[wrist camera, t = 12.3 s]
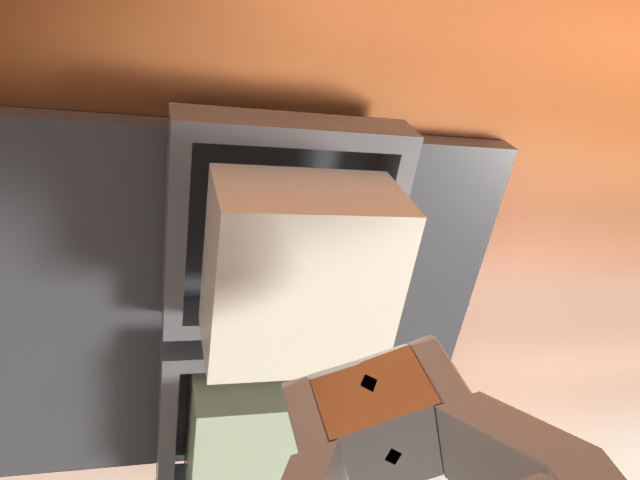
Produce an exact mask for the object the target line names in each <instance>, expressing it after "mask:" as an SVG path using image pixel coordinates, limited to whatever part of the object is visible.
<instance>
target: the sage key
mask: <svg viewBox="0 0 640 480" xmlns="http://www.w3.org/2000/svg"><path fill="white" fill-rule="evenodd" d="M288 381H291V380H288ZM288 381H270V382H252V383H233V384H215V385H207V381H206V373H195V374H189V388H188V403H187V419H186V435H185V450H184V468H185V480H281V478H282V476H283V473H284V471H285V468H286V466H287V463H288V461H289V458H290V456H291V455H293V454H296V453H298V450H297V446H296V442H295V438H294V434H293V431H292V427H291V423H290V419H289V415H288V411H287V408H286V404H285V400H284V396H283V392H282V384H281V383H284V382H288ZM309 382H310V381H309Z"/></svg>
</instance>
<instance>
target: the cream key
mask: <svg viewBox="0 0 640 480" xmlns="http://www.w3.org/2000/svg"><path fill="white" fill-rule="evenodd" d="M426 219H427V217H426V216H425V215H424V214H423V213H422V212H421V210H420V209H419V208H418V207H417V206H416V205H415V203H414V202H413V201H412V200H411V199H410V198H409V196H408V195H407V194H406V193H405V192H404V191H403V189H402V188H401V187H400V186H399V185H398V184H397V182H396V181H395V180H394V179H393V178H392V177H391V175H390V174H389V173H388V172H387V171H369V170H348V169H328V168H307V167H287V166H266V165H245V164H225V163H209V176H208V191H207V205H206V219H205V234H204V248H203V262H202V277H201V291H200V306H199V326H200V334H201V342H202V350H203V357H204V365H205V373H206V381H207V385H215V384H233V383H252V382H270V381H288V380H295V379H298V378H301V377H305V376H307V377H308V375H309V374H312V373H316V372H319V371H322V370H326V369H329V368H332V367H336V366H339V365H342V364H346V363H349V362H352V361H356V360H358V359H361V358H364V357H367V356H369V355H372V354H375V353H378V352H381V351H384V350H387V349H390V348H393V345H394V342H395V338H396V334H397V330H398V326H399V322H400V319H401V315H402V311H403V307H404V303H405V299H406V296H407V292H408V288H409V284H410V280H411V276H412V273H413V269H414V265H415V261H416V257H417V253H418V249H419V246H420V242H421V238H422V234H423V230H424V226H425V223H426ZM308 379H309V378H308Z"/></svg>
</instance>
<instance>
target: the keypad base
mask: <svg viewBox="0 0 640 480" xmlns="http://www.w3.org/2000/svg"><path fill="white" fill-rule="evenodd" d="M517 151H518V150H517V149H516V148H515V147H513V146H512V145H510V144H509V143H507V142H506V141H505V140H490V139H476V138H461V137H447V136H432V135H421V134H420V133H418V132H417V131H416V130H415V129H414V128H413V127H412V126H411V125H409V124H408V123H407V122H406V121H405V120H399V119H386V118H373V117H360V116H346V115H333V114H320V113H307V112H294V111H280V110H267V109H254V108H241V107H228V106H214V105H201V104H188V103H175V102H169V115H168V117H155V116H140V115H126V114H111V113H97V112H82V111H68V110H53V109H38V108H24V107H9V106H0V477H7V476H18V475H29V474H40V473H51V472H62V471H73V470H85V469H96V468H107V467H118V466H129V465H140V464H151V463H156V480H185V468H184V464H175V461H184V450H185V435H186V419H187V403H188V388H189V374H195V373H205V365H204V357H203V350H202V342H201V334H200V326H199V306H200V291H201V277H202V262H203V248H204V234H205V219H206V205H207V191H208V176H209V163H225V164H245V165H266V166H287V167H307V168H328V169H348V170H369V171H387V172H388V173H389V174H390V175H391V177H392V178H393V179H394V180H395V181H396V182H397V184H398V185H399V186H400V187H401V188H402V189H403V191H404V192H405V193H406V194H407V195H408V196H409V198H410V199H411V200H412V201H413V202H414V203H415V205H416V206H417V207H418V208H419V209H420V210H421V212H422V213H423V214H424V215H425V216H426V217H427V219H426V223H425V226H424V230H423V234H422V238H421V242H420V246H419V249H418V253H417V257H416V261H415V265H414V269H413V273H412V276H411V280H410V284H409V288H408V292H407V296H406V299H405V303H404V307H403V311H402V315H401V319H400V322H399V326H398V330H397V334H396V338H395V342H394V345H393V347H396V346H399V345H402V344H405V343H406V344H407V343H408V342H411V341H414V340H416V339H419V338H422V337H425V336H428V335H431V334H432V335H433V336H435V337H436V338H437V340H438V341H439V343H440V344H441V346H442V347H443V349H444V351H445V352H446V354H447V355H448V357H449V358H450V360H451V357H452V354H453V351H454V348H455V345H456V341H457V338H458V335H459V332H460V329H461V326H462V323H463V320H464V316H465V313H466V310H467V307H468V304H469V301H470V298H471V295H472V291H473V288H474V285H475V282H476V279H477V276H478V273H479V270H480V267H481V263H482V260H483V257H484V254H485V251H486V248H487V245H488V242H489V238H490V235H491V232H492V229H493V226H494V223H495V220H496V217H497V213H498V210H499V207H500V204H501V201H502V198H503V195H504V192H505V188H506V185H507V182H508V179H509V176H510V173H511V170H512V167H513V164H514V160H515V157H516V154H517Z"/></svg>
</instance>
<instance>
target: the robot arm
mask: <svg viewBox="0 0 640 480" xmlns="http://www.w3.org/2000/svg"><path fill="white" fill-rule="evenodd" d="M308 378H309V379H308ZM309 381H310V382H309ZM281 384H282V392H283V396H284V400H285V404H286V408H287V411H288V415H289V419H290V423H291V427H292V431H293V434H294V438H295V442H296V446H297V450H298V453H296V454H293V455H291V456H290V458H289V461H288V463H287V466H286V468H285V471H284V473H283V476H282V478H281V480H428V479H431V478H434V477H437V476H440V475H443V474H444V475H445V477H446V478H447V479H449V480H627V479H626V478H625V477H624V476H623V475H622V473H621V472H620V471H619V470H618V468H617V467H616V466H615V465H614V463H613V462H612V461H611V460H610V458H609V457H608V456H607V455H606V453H605V452H604V451H603V450H602V449H601V448H599V447H597V446H595V445H593V444H591V443H589V442H587V441H584V440H582V439H580V438H578V437H576V436H574V435H572V434H569V433H567V432H565V431H563V430H561V429H559V428H557V427H555V426H552V425H550V424H548V423H546V422H544V421H542V420H540V419H538V418H535V417H533V416H531V415H529V414H527V413H525V412H523V411H520V410H518V409H516V408H514V407H512V406H510V405H508V404H506V403H503V402H501V401H499V400H497V399H495V398H493V397H491V396H489V395H486V394H484V393H482V392H480V391H479V392H476V393H473V394H472V393H471V391H470V390H469V388H468V387H467V385H466V383H465V382H464V380H463V379H462V377H461V376H460V374H459V372H458V371H457V369H456V368H455V366H454V365H453V363H452V362H451V360H450V358H449V357H448V355H447V354H446V352H445V351H444V349H443V347H442V346H441V344H440V343H439V341H438V340H437V338H436V337H435V336H433V335H432V334H431V335H428V336H425V337H422V338H419V339H416V340H414V341H411V342H408V343H407V344H406V343H405V344H402V345H399V346H396V347H393V348H390V349H387V350H384V351H381V352H378V353H375V354H372V355H369V356H367V357H364V358H361V359H358V360H356V361H352V362H349V363H346V364H342V365H339V366H336V367H332V368H329V369H326V370H322V371H319V372H316V373H312V374H309V375H308V377H307V376H305V377H301V378H298V379H295V380H291V381H288V382H284V383H281Z"/></svg>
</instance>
